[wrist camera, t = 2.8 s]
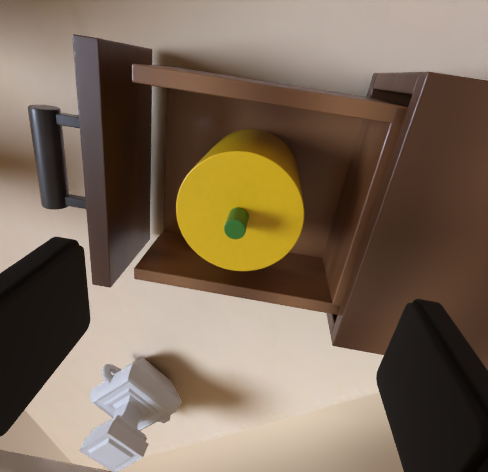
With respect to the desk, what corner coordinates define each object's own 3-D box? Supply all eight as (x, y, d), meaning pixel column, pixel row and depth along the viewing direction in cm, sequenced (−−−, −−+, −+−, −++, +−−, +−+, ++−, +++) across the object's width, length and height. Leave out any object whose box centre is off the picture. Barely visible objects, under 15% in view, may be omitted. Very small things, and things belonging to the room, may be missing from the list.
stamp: (95, 363, 35) (44, 441, 28) (134, 335, 33) (90, 412, 26) (156, 411, 38) (124, 494, 30) (196, 388, 35) (173, 472, 28)
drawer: (84, 227, 27) (26, 272, 21) (68, 36, 21) (-22, 19, 15) (325, 269, 26) (339, 328, 20) (380, 84, 20) (423, 88, 14)
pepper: (201, 212, 24) (163, 276, 16) (209, 121, 21) (167, 147, 14) (287, 227, 24) (290, 299, 16) (307, 137, 21) (322, 172, 13)
